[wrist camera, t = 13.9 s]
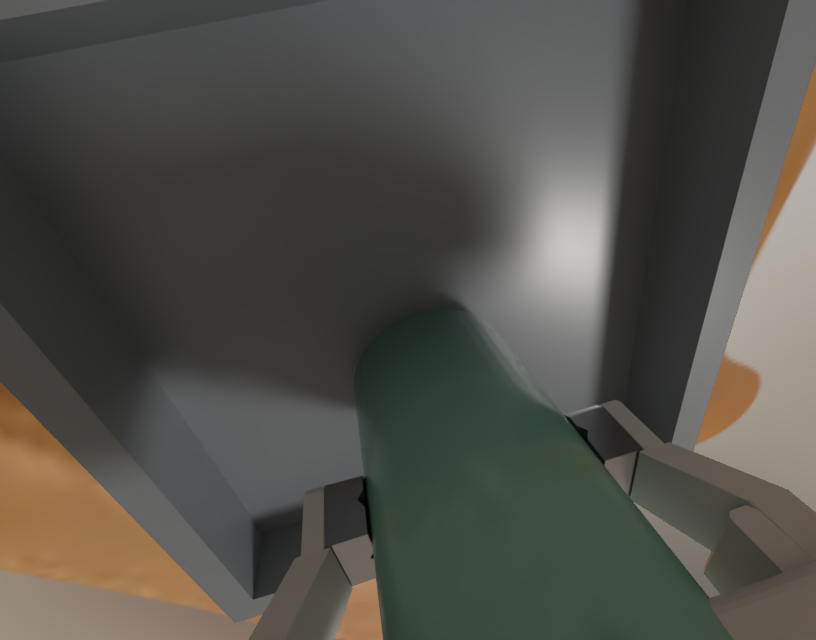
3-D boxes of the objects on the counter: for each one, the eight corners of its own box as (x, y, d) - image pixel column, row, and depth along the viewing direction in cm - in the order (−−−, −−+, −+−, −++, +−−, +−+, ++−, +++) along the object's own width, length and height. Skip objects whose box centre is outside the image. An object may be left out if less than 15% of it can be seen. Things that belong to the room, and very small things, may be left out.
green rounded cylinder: (333, 335, 12) (369, 958, 3) (503, 290, 12) (945, 725, 4) (374, 453, 15) (451, 947, 6) (510, 413, 15) (763, 819, 6)
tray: (-128, 20, 8) (-404, -35, 5) (725, -131, 9) (911, -242, 6) (249, 538, 18) (235, 622, 15) (629, 423, 20) (684, 479, 17)
